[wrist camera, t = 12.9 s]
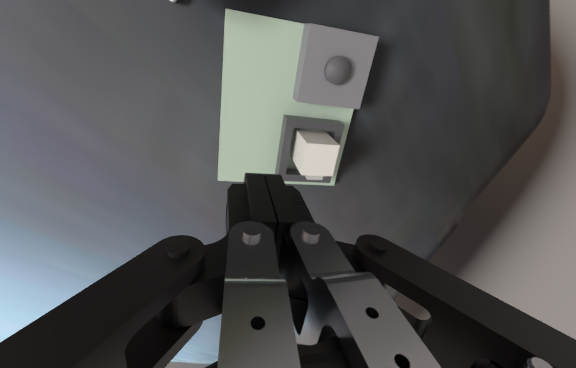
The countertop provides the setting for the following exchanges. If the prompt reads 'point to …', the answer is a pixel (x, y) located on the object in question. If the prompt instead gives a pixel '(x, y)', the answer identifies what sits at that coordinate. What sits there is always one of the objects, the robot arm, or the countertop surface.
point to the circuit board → (284, 86)
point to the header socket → (285, 141)
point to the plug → (314, 153)
